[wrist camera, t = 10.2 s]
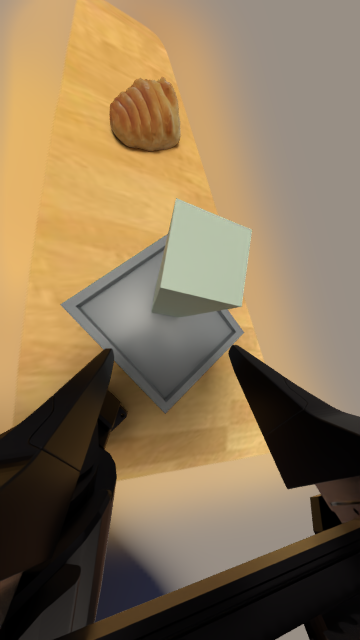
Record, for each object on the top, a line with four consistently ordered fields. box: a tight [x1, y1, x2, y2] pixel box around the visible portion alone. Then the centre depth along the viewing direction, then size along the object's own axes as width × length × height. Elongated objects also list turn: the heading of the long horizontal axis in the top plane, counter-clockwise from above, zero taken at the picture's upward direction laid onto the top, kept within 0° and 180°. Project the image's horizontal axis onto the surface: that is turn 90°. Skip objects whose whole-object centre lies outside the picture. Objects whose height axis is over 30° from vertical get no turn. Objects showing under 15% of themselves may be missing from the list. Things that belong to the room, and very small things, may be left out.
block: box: [151, 198, 252, 317], centre depth 12 cm, size 4×4×12 cm
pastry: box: [110, 77, 180, 151], centre depth 17 cm, size 9×7×4 cm
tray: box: [60, 234, 244, 414], centre depth 18 cm, size 16×18×2 cm
